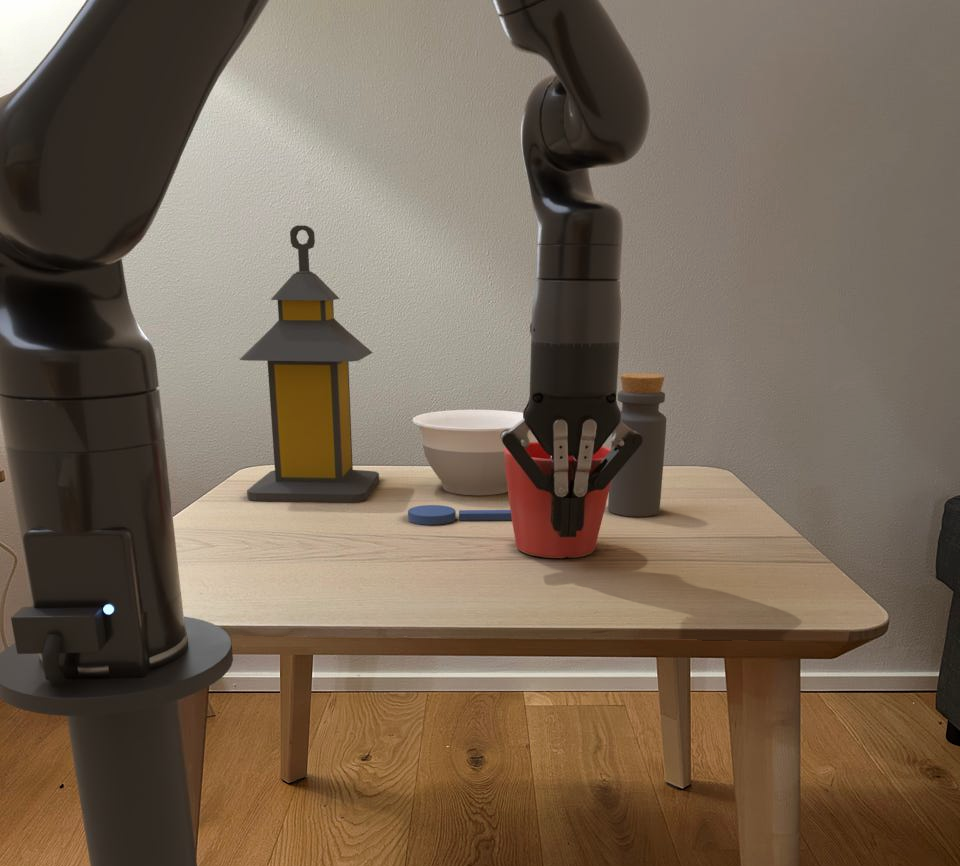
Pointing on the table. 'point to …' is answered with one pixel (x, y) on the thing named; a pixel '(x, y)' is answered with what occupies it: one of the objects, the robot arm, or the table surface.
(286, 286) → the lantern
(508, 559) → the table surface
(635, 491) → the bottle
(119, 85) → the robot arm
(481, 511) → the spoon
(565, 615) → the table surface
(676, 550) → the table surface
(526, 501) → the flower pot
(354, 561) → the table surface
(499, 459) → the bowl
